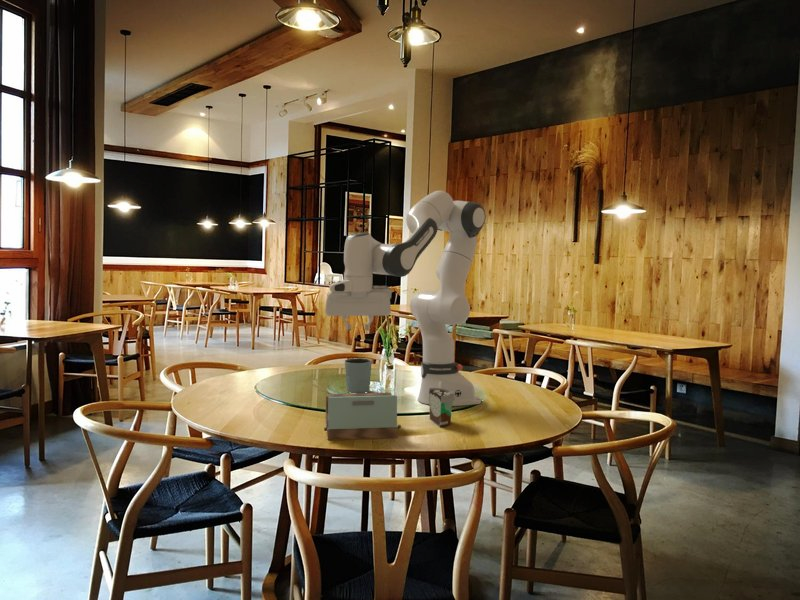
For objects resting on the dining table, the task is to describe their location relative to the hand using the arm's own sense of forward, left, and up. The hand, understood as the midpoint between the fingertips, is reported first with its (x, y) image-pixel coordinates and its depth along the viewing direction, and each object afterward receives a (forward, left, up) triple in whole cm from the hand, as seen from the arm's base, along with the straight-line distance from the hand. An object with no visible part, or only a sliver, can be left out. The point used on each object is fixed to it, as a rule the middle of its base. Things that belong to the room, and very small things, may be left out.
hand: (357, 330), depth 203 cm
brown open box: (0, +11, -29) cm, 31 cm away
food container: (-27, +4, -29) cm, 40 cm away
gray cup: (-4, -41, -29) cm, 51 cm away
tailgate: (0, +18, -26) cm, 31 cm away
